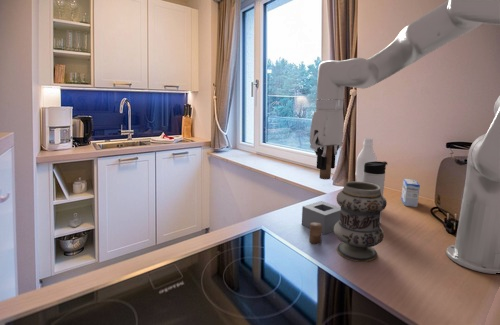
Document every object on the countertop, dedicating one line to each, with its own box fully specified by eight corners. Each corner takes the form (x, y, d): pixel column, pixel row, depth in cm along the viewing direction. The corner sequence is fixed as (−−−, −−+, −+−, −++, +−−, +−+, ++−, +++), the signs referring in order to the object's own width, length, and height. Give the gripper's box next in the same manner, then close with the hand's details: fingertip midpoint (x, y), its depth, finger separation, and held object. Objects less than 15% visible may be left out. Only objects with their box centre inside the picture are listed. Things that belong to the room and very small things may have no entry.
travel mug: (383, 226, 93) (389, 164, 89) (360, 225, 94) (366, 163, 90) (378, 219, 99) (384, 160, 95) (358, 217, 100) (363, 159, 96)
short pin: (323, 242, 83) (324, 225, 82) (315, 245, 81) (316, 228, 80) (314, 238, 85) (315, 221, 84) (306, 241, 84) (307, 224, 83)
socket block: (343, 227, 93) (344, 208, 92) (324, 234, 88) (325, 215, 86) (320, 218, 100) (321, 200, 99) (301, 224, 95) (302, 206, 93)
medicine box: (400, 199, 120) (403, 178, 118) (413, 200, 118) (415, 179, 116) (404, 205, 112) (406, 183, 110) (417, 207, 111) (420, 184, 109)
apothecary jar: (369, 241, 84) (375, 178, 80) (390, 264, 72) (399, 192, 68) (326, 241, 83) (330, 179, 80) (341, 265, 72) (347, 192, 68)
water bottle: (352, 205, 113) (357, 138, 107) (353, 199, 119) (358, 136, 114) (372, 207, 110) (379, 140, 105) (373, 201, 116) (379, 137, 111)
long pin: (324, 176, 93) (326, 144, 91) (332, 178, 90) (334, 145, 88) (317, 177, 91) (319, 145, 89) (325, 180, 88) (327, 146, 86)
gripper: (337, 105, 94) (333, 163, 98) (299, 106, 84) (297, 169, 88) (357, 106, 88) (352, 167, 92) (320, 106, 78) (316, 174, 82)
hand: (325, 167), depth 90 cm, fingers closed on long pin, 3 cm apart
